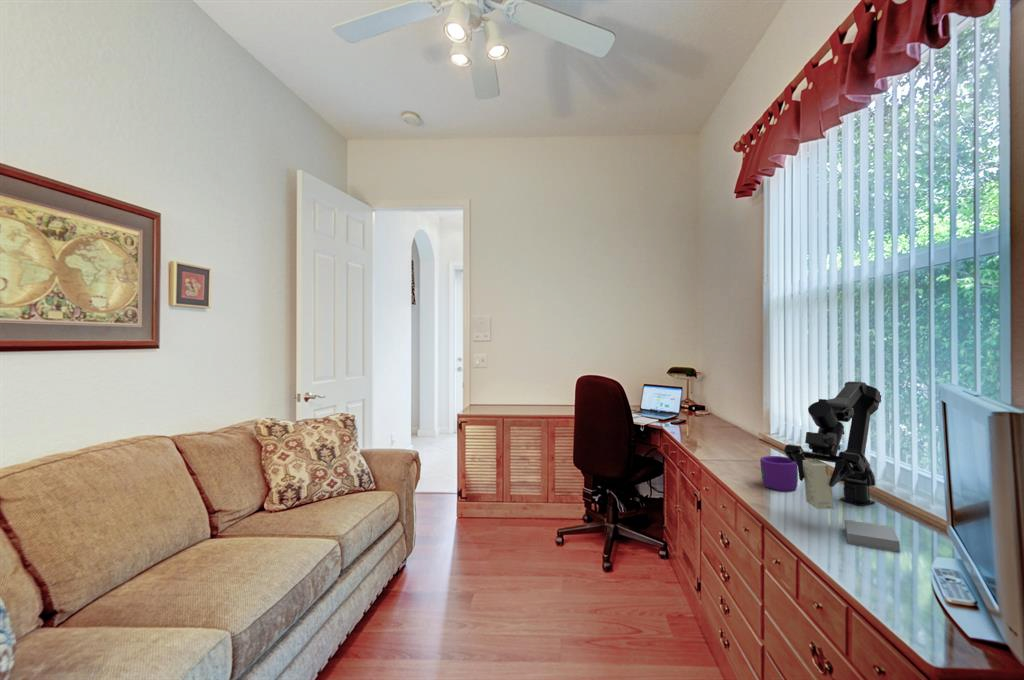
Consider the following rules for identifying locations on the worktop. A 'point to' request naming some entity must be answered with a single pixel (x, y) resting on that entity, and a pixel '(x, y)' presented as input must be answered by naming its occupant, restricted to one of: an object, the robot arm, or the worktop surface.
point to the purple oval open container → (779, 473)
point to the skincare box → (817, 484)
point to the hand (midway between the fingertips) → (815, 483)
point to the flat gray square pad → (872, 535)
